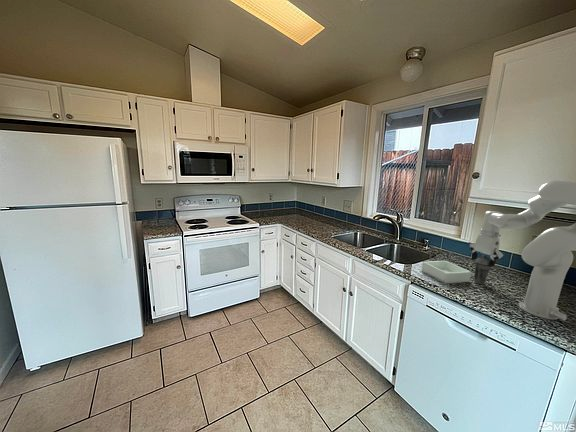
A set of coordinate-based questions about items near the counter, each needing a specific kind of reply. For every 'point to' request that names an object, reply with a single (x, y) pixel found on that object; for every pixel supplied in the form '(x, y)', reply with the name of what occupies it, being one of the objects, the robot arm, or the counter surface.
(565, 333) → the counter surface
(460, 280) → the bin
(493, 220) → the robot arm
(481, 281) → the beverage cup
